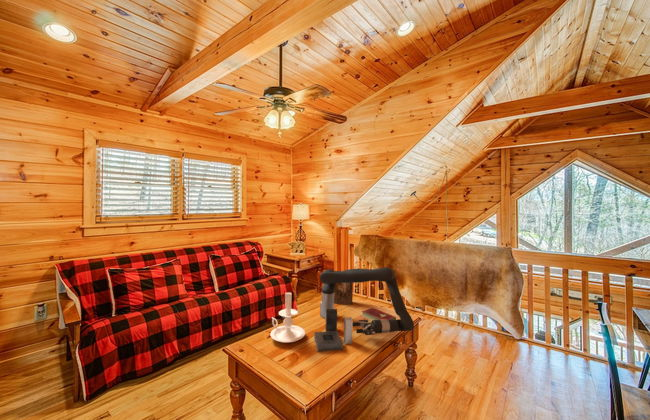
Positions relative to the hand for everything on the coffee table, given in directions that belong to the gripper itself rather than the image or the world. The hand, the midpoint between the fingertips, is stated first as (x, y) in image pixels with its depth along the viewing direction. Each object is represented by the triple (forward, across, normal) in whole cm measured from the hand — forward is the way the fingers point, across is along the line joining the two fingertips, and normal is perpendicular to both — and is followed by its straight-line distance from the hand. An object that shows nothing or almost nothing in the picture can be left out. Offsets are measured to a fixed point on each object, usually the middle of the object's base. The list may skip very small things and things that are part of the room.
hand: (354, 327), depth 160 cm
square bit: (+4, 0, +8) cm, 9 cm away
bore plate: (+16, +1, +8) cm, 18 cm away
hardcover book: (-26, -28, +9) cm, 39 cm away
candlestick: (+40, -11, +9) cm, 42 cm away
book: (-7, -60, +9) cm, 61 cm away
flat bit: (+11, -16, +8) cm, 21 cm away
